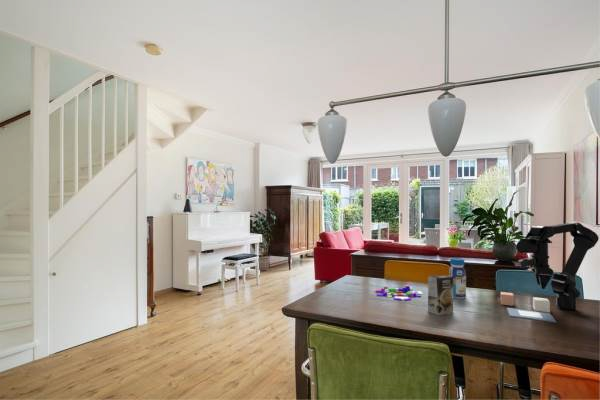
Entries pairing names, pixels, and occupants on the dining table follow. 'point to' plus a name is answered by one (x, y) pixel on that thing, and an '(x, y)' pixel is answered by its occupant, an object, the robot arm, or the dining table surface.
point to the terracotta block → (507, 298)
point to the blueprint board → (530, 315)
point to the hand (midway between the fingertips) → (541, 286)
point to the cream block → (541, 304)
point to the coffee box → (440, 294)
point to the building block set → (393, 292)
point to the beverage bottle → (458, 277)
